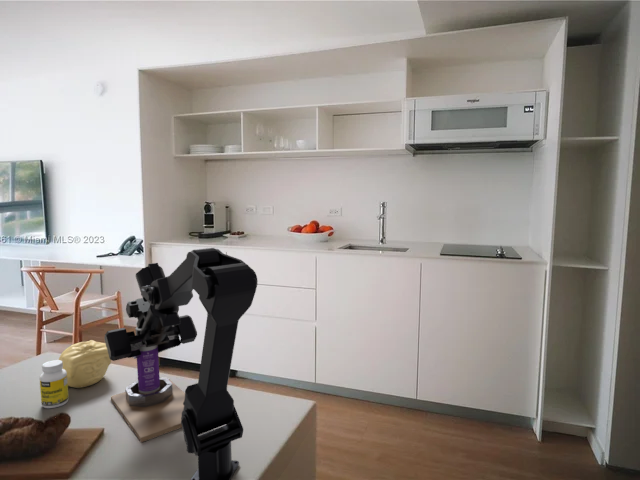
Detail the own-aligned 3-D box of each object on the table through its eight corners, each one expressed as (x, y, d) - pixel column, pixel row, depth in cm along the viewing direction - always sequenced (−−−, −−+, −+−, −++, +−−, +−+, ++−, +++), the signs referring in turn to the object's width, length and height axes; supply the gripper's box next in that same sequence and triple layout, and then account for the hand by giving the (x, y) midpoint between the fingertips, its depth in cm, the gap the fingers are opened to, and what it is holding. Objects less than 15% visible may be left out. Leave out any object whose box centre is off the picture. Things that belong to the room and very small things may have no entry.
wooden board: (207, 417, 94) (207, 413, 94) (141, 442, 85) (140, 437, 85) (169, 382, 110) (169, 379, 110) (110, 400, 102) (110, 396, 101)
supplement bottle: (38, 410, 97) (34, 369, 96) (46, 399, 102) (43, 359, 101) (65, 407, 98) (61, 366, 97) (71, 396, 104) (68, 357, 102)
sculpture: (72, 397, 103) (68, 354, 102) (51, 383, 110) (47, 343, 109) (118, 380, 112) (116, 340, 111) (96, 368, 119) (93, 331, 118)
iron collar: (157, 408, 96) (156, 397, 95) (118, 404, 97) (117, 394, 97) (178, 388, 105) (178, 378, 105) (142, 385, 107) (142, 375, 106)
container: (145, 395, 98) (142, 331, 96) (134, 390, 100) (130, 327, 99) (164, 387, 101) (160, 326, 100) (152, 382, 104) (149, 322, 102)
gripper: (189, 281, 101) (174, 317, 111) (103, 295, 89) (94, 333, 99) (205, 322, 96) (188, 355, 105) (116, 341, 84) (105, 377, 94)
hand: (145, 354), depth 101 cm, fingers closed on container, 5 cm apart
